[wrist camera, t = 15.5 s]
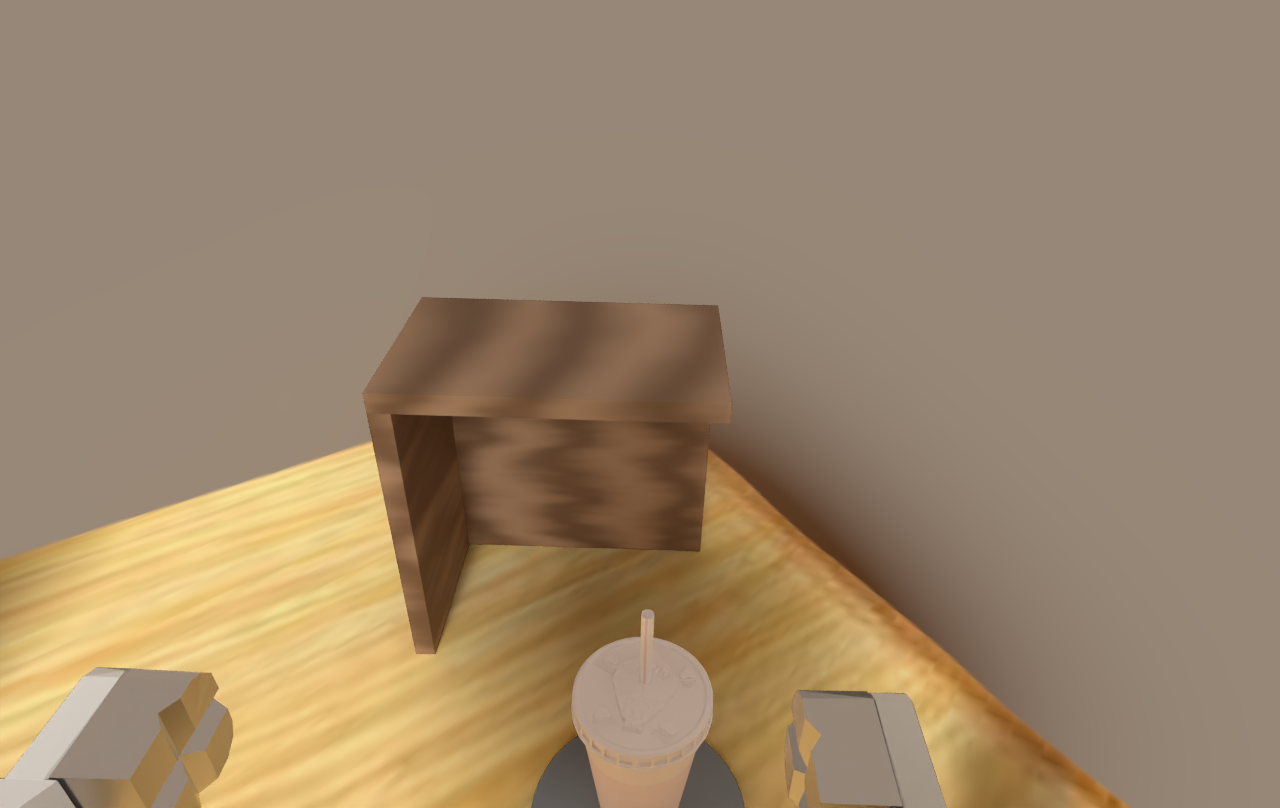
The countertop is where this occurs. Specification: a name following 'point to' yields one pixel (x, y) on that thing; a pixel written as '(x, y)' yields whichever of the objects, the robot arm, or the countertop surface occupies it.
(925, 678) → the countertop surface
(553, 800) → the coaster
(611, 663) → the smoothie
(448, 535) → the shelf
